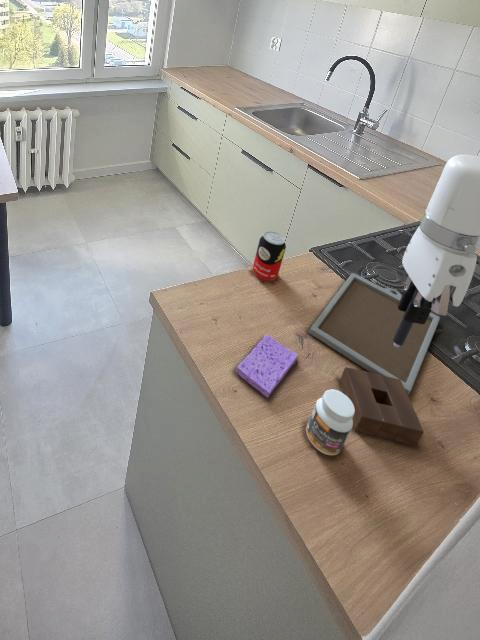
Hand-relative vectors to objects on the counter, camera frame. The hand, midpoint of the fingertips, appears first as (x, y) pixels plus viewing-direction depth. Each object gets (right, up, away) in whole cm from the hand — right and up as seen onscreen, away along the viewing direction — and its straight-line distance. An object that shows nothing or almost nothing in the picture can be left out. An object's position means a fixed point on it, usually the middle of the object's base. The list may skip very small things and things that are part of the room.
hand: (410, 315), depth 73 cm
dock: (-3, -20, +5) cm, 21 cm away
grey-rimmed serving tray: (+10, -13, +24) cm, 29 cm away
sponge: (-20, -16, +13) cm, 29 cm away
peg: (0, -7, +3) cm, 8 cm away
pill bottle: (-15, -22, 0) cm, 27 cm away
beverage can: (-11, -6, +37) cm, 39 cm away
